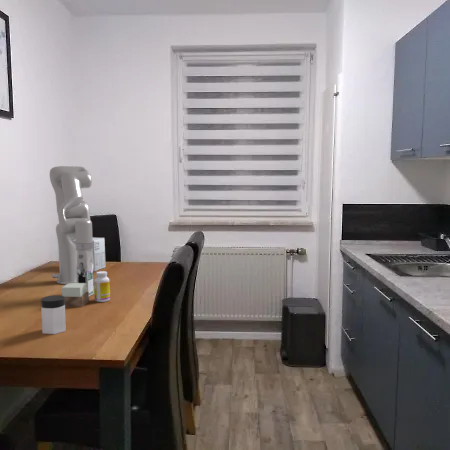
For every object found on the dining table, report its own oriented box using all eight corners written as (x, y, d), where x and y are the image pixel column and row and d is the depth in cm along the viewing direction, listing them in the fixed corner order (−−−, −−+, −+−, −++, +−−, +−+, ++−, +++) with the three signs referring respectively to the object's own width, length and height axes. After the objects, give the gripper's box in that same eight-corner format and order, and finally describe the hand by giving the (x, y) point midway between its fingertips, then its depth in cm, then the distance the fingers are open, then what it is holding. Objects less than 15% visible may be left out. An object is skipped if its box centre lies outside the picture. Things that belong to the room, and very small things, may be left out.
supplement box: (106, 267, 278) (105, 237, 275) (95, 271, 265) (94, 240, 263) (80, 265, 281) (79, 236, 279) (68, 270, 269) (67, 239, 267)
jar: (59, 324, 172) (58, 293, 171) (71, 329, 167) (70, 297, 166) (36, 331, 166) (35, 298, 164) (48, 336, 160) (47, 302, 159)
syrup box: (88, 297, 211) (87, 266, 209) (76, 296, 212) (75, 265, 210) (94, 293, 216) (93, 263, 215) (83, 293, 217) (82, 263, 216)
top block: (62, 296, 196) (61, 287, 195) (68, 291, 204) (68, 283, 203) (80, 296, 196) (80, 287, 195) (86, 292, 203) (86, 283, 203)
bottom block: (61, 307, 196) (61, 296, 195) (68, 301, 205) (68, 291, 204) (82, 307, 196) (82, 297, 195) (88, 301, 205) (88, 291, 204)
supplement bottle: (113, 299, 208) (112, 271, 206) (104, 303, 201) (103, 274, 200) (100, 297, 210) (99, 270, 208) (91, 301, 203) (90, 273, 202)
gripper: (86, 249, 203) (87, 287, 204) (97, 243, 220) (99, 278, 222) (69, 249, 203) (71, 287, 205) (82, 243, 220) (83, 278, 222)
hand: (85, 282), depth 213 cm, fingers open, 9 cm apart
